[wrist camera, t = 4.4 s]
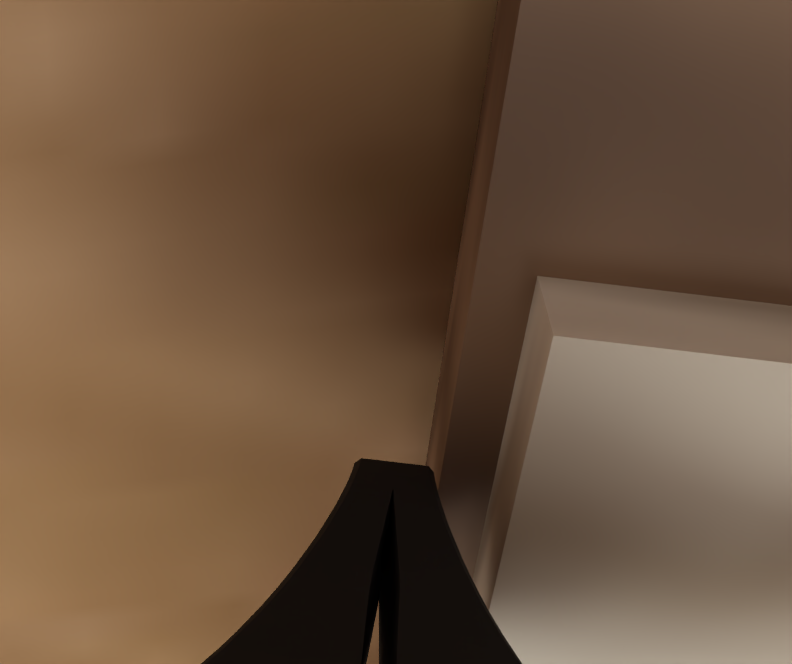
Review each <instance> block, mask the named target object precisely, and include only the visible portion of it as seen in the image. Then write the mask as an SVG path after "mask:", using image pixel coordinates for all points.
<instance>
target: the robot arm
mask: <svg viewBox="0 0 792 664" xmlns="http://www.w3.org/2000/svg"><path fill="white" fill-rule="evenodd" d="M378 602H379V664H522V663H521V661H520V660H519V658H518V657H517V655H516V654H515V652H514V651H513V649H512V648H511V646H510V645H509V643H508V641H507V640H506V638H505V637H504V635H503V634H502V632H501V630H500V629H499V627H498V625H497V624H496V622H495V620H494V619H493V617H492V615H491V614H490V612H489V610H488V608H487V607H486V605H485V603H484V601H483V599H482V597H481V595H480V594H479V592H478V590H477V588H476V586H475V584H474V582H473V580H472V578H471V576H470V574H469V572H468V569H467V567H466V565H465V563H464V561H463V559H462V556H461V554H460V551H459V549H458V547H457V544H456V542H455V540H454V537H453V535H452V532H451V530H450V527H449V524H448V522H447V519H446V516H445V513H444V510H443V507H442V504H441V501H440V497H439V494H438V490H437V486H436V482H435V476H434V472H433V470H432V469H431V468H430V467H429V466H423V465H415V464H406V463H397V462H389V461H380V460H371V459H362V458H361V459H360V460H358V461H357V462H355V463H354V467H353V470H352V473H351V475H350V478H349V480H348V482H347V484H346V486H345V488H344V490H343V492H342V494H341V496H340V498H339V500H338V502H337V504H336V505H335V507H334V509H333V510H332V512H331V514H330V515H329V517H328V518H327V520H326V522H325V523H324V525H323V527H322V528H321V530H320V531H319V533H318V534H317V536H316V537H315V539H314V540H313V542H312V543H311V544H310V546H309V547H308V549H307V550H306V551H305V553H304V554H303V555H302V557H301V558H300V560H299V561H298V562H297V564H296V565H295V566H294V568H293V569H292V570H291V572H290V573H289V574H288V575H287V577H286V578H285V579H284V580H283V582H282V583H281V584H280V585H279V586H278V588H277V589H276V590H275V591H274V592H273V593H272V594H271V596H270V597H269V598H268V599H267V600H266V601H265V602H264V604H263V605H262V606H261V607H260V608H259V609H258V610H257V611H256V612H255V613H254V614H253V615H252V616H251V617H250V618H249V619H248V620H247V621H246V622H245V623H244V624H243V625H242V626H241V628H240V629H239V630H238V631H237V632H236V633H235V634H234V635H233V636H231V637H230V638H229V639H228V640H227V641H226V642H225V643H224V644H223V645H222V646H221V647H220V648H219V649H218V650H216V651H215V652H214V653H213V654H212V655H211V656H209V657H208V658H207V659H206V660H205V661H204V662H202V663H201V664H366V662H367V657H368V652H369V647H370V642H371V637H372V632H373V627H374V622H375V617H376V612H377V607H378Z"/></svg>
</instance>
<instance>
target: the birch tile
mask: <svg viewBox="0 0 792 664" xmlns="http://www.w3.org/2000/svg"><path fill="white" fill-rule="evenodd" d="M473 582H474V584H475V586H476V588H477V590H478V592H479V594H480V595H481V597H482V599H483V601H484V603H485V605H486V607H487V608H488V610H489V612H490V614H491V615H492V617H493V619H494V620H495V622H496V624H497V625H498V627H499V629H500V630H501V632H502V634H503V635H504V637H505V638H506V640H507V641H508V643H509V645H510V646H511V648H512V649H513V651H514V652H515V654H516V655H517V657H518V658H519V660H520V661H521V663H522V664H792V306H788V305H780V304H772V303H763V302H755V301H746V300H738V299H729V298H721V297H712V296H704V295H695V294H687V293H678V292H670V291H661V290H653V289H645V288H636V287H628V286H619V285H611V284H602V283H594V282H585V281H577V280H568V279H560V278H551V277H543V276H537V280H536V285H535V290H534V294H533V299H532V304H531V308H530V313H529V318H528V323H527V327H526V332H525V337H524V341H523V346H522V351H521V355H520V360H519V365H518V369H517V374H516V379H515V383H514V388H513V393H512V397H511V402H510V407H509V412H508V416H507V421H506V426H505V430H504V435H503V440H502V444H501V449H500V454H499V458H498V463H497V468H496V472H495V477H494V482H493V486H492V491H491V496H490V500H489V505H488V510H487V515H486V519H485V524H484V529H483V533H482V538H481V543H480V547H479V552H478V557H477V561H476V566H475V571H474V575H473Z"/></svg>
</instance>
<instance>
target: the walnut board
mask: <svg viewBox="0 0 792 664" xmlns="http://www.w3.org/2000/svg"><path fill="white" fill-rule="evenodd" d="M537 276H543V277H551V278H560V279H568V280H577V281H585V282H594V283H602V284H611V285H619V286H628V287H636V288H645V289H653V290H661V291H670V292H678V293H687V294H695V295H704V296H712V297H721V298H729V299H738V300H746V301H755V302H763V303H772V304H780V305H788V306H792V0H498V4H497V10H496V17H495V23H494V30H493V36H492V42H491V49H490V55H489V62H488V68H487V75H486V81H485V87H484V94H483V100H482V107H481V113H480V120H479V126H478V133H477V139H476V145H475V152H474V158H473V165H472V171H471V178H470V184H469V190H468V197H467V203H466V210H465V216H464V223H463V229H462V235H461V242H460V248H459V255H458V261H457V268H456V274H455V280H454V287H453V293H452V300H451V306H450V313H449V319H448V325H447V332H446V338H445V345H444V351H443V358H442V364H441V370H440V377H439V383H438V390H437V396H436V403H435V409H434V415H433V422H432V428H431V435H430V441H429V448H428V454H427V461H426V466H429V467H430V468H431V469H432V470H433V472H434V476H435V482H436V486H437V490H438V494H439V497H440V501H441V504H442V507H443V510H444V513H445V516H446V519H447V522H448V524H449V527H450V530H451V532H452V535H453V537H454V540H455V542H456V544H457V547H458V549H459V551H460V554H461V556H462V559H463V561H464V563H465V565H466V567H467V569H468V572H469V574H470V576H471V578H472V580H473V575H474V571H475V566H476V561H477V557H478V552H479V547H480V543H481V538H482V533H483V529H484V524H485V519H486V515H487V510H488V505H489V500H490V496H491V491H492V486H493V482H494V477H495V472H496V468H497V463H498V458H499V454H500V449H501V444H502V440H503V435H504V430H505V426H506V421H507V416H508V412H509V407H510V402H511V397H512V393H513V388H514V383H515V379H516V374H517V369H518V365H519V360H520V355H521V351H522V346H523V341H524V337H525V332H526V327H527V323H528V318H529V313H530V308H531V304H532V299H533V294H534V290H535V285H536V280H537Z"/></svg>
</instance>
